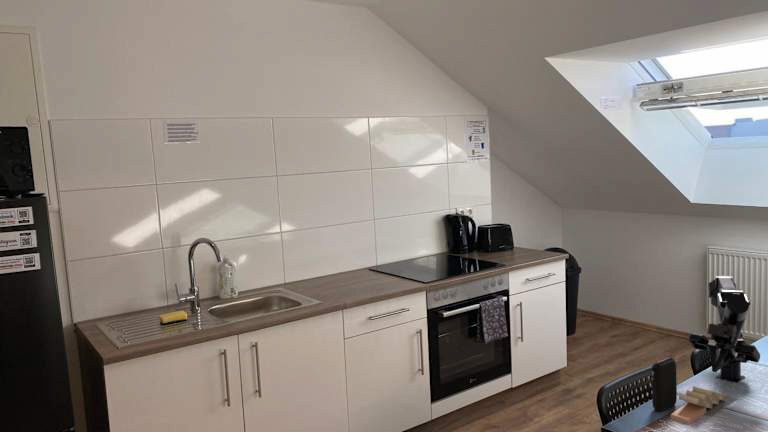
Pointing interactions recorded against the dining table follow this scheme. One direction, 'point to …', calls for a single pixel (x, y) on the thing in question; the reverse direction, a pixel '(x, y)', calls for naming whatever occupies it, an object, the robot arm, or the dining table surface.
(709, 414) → the rubber mat
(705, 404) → the domino
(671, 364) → the black upright slab
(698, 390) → the domino
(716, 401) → the domino
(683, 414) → the domino
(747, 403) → the dining table surface
